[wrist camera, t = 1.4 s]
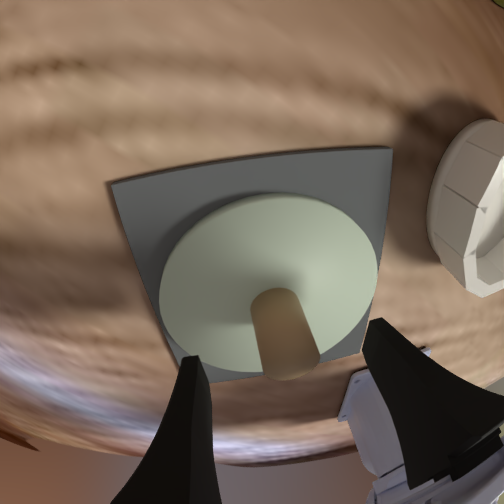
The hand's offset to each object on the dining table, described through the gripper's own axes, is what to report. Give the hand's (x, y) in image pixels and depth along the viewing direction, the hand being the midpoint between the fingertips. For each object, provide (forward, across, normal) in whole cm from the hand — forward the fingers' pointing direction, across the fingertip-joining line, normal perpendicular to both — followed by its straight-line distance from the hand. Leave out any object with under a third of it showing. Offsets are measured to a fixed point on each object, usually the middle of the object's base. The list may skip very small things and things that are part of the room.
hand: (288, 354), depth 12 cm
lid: (+4, 0, 0) cm, 4 cm away
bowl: (+4, -14, -4) cm, 15 cm away
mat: (+4, 0, 0) cm, 4 cm away
